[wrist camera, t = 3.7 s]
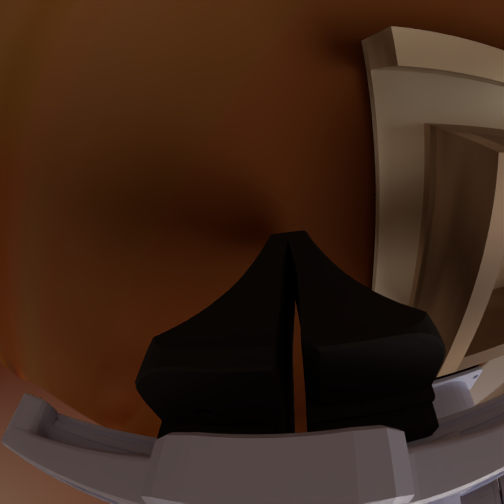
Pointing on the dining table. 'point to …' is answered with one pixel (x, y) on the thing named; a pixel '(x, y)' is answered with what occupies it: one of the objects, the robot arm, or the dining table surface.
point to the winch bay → (419, 129)
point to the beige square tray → (462, 242)
